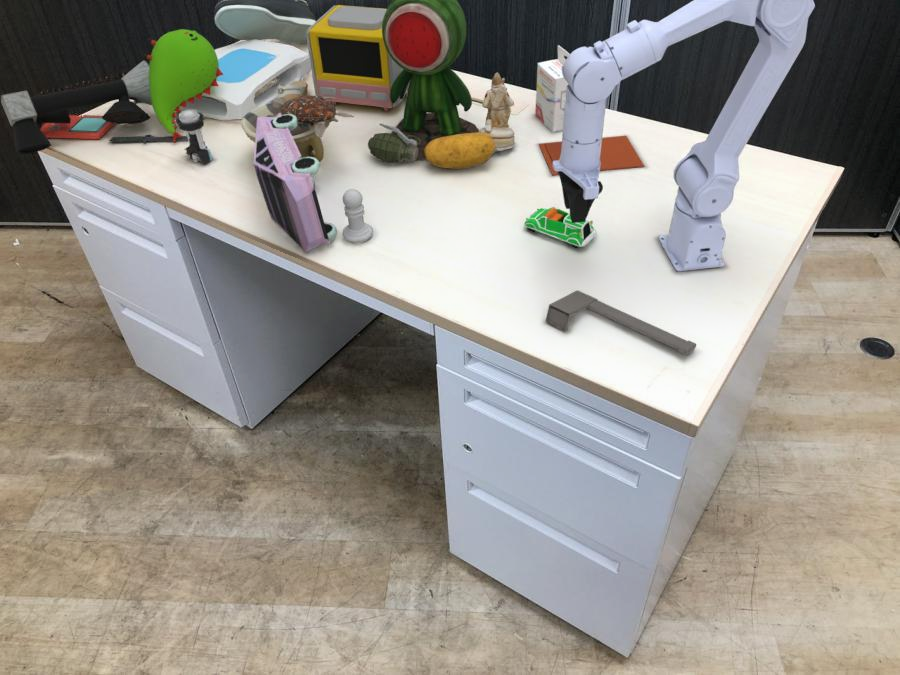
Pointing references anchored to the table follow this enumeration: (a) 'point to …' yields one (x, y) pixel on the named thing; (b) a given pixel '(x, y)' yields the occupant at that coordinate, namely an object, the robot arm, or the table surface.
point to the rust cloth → (612, 154)
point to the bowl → (301, 136)
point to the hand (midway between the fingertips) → (575, 214)
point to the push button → (194, 135)
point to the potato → (460, 150)
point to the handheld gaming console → (78, 127)
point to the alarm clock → (352, 57)
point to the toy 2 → (309, 111)
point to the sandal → (292, 90)
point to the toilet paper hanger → (579, 301)
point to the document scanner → (250, 77)
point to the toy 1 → (180, 73)
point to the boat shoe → (265, 19)
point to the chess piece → (355, 218)
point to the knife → (145, 138)
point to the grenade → (393, 146)
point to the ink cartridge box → (551, 91)
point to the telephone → (76, 106)
